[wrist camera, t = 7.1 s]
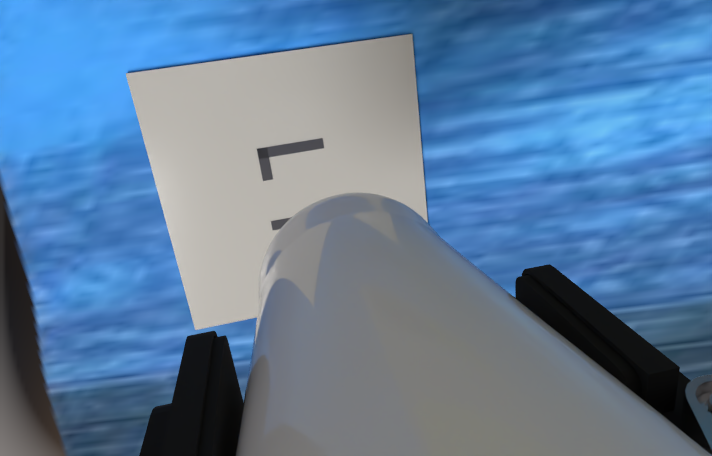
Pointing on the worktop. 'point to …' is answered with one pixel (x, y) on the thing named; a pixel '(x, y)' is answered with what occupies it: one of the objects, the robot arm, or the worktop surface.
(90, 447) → the worktop surface
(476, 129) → the worktop surface
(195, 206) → the tile
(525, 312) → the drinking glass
